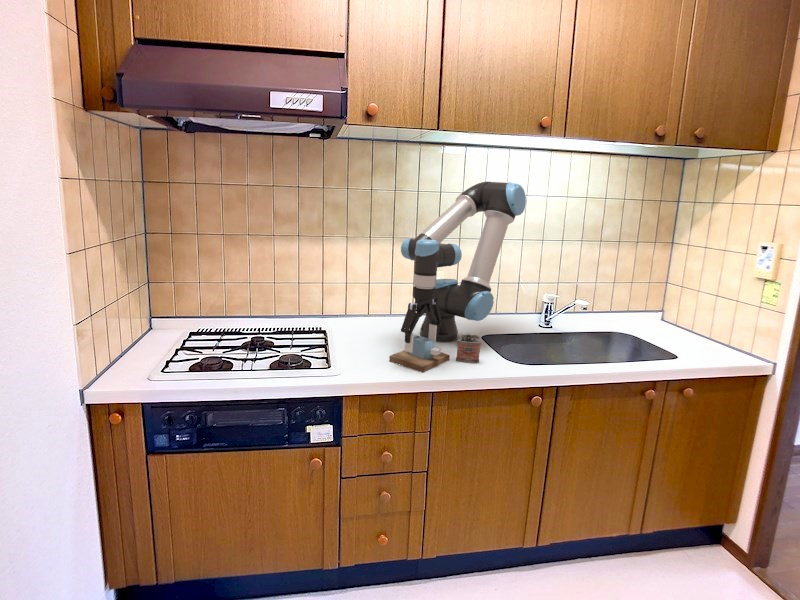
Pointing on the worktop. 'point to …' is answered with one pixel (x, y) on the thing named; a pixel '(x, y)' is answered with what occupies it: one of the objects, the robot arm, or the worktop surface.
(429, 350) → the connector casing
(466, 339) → the lighter
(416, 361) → the walnut board
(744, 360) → the worktop surface
